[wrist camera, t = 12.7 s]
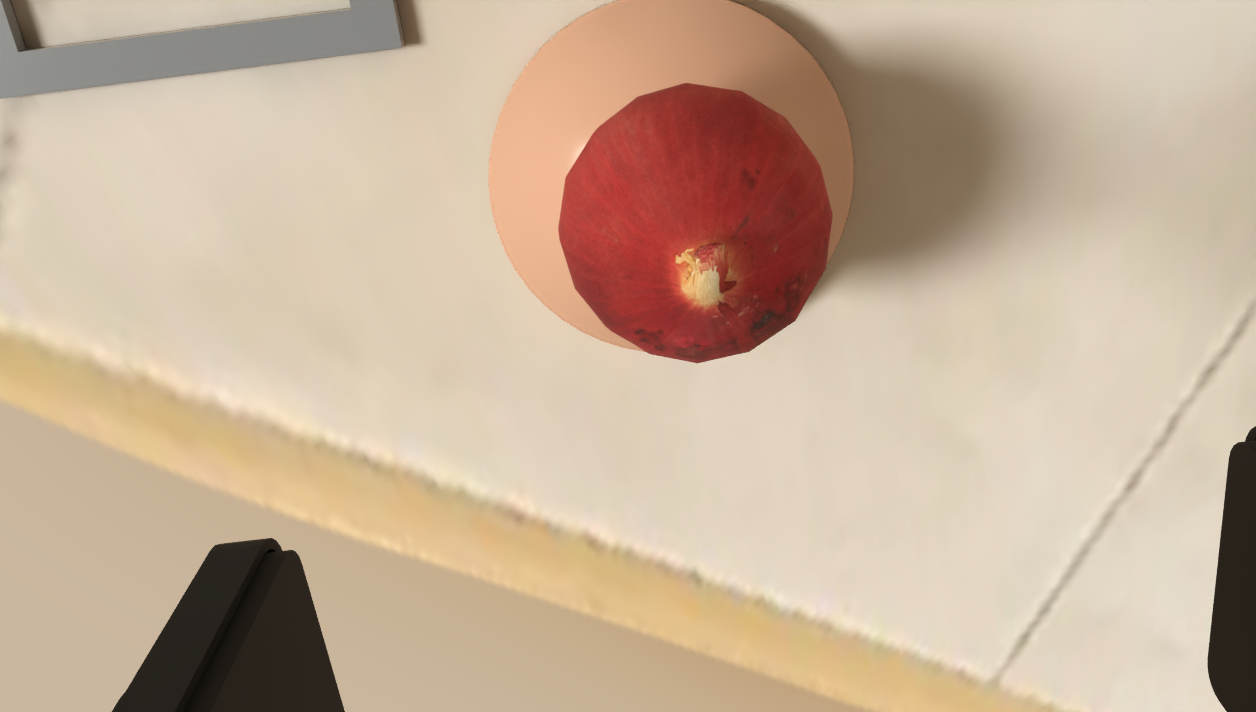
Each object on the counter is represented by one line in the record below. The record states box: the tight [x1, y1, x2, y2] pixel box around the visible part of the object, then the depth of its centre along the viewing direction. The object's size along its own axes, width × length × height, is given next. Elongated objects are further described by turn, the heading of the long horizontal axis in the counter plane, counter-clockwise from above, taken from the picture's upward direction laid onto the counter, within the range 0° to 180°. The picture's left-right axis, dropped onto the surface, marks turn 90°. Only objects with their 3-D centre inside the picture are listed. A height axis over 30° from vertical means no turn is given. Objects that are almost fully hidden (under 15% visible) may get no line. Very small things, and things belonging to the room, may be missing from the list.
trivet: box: [489, 0, 854, 352], centre depth 28 cm, size 9×9×1 cm
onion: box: [558, 83, 833, 363], centre depth 23 cm, size 6×6×8 cm
